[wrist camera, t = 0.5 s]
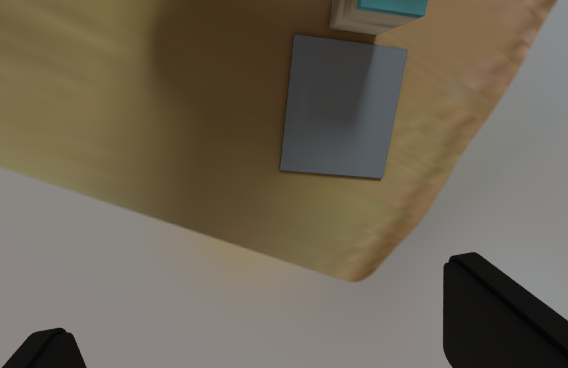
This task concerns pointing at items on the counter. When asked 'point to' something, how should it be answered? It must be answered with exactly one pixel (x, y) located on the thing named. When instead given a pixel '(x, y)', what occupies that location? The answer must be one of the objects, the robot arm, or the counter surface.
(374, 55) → the rubber mat
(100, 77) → the counter surface
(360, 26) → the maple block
